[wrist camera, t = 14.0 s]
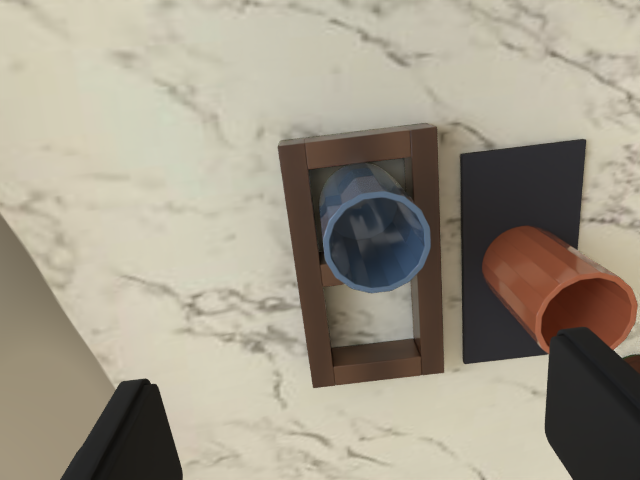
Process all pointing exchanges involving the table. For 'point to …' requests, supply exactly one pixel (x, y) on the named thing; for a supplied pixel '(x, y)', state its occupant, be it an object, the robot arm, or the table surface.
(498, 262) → the cup
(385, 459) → the table surface
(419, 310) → the holder
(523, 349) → the placemat
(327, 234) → the cup
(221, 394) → the table surface
